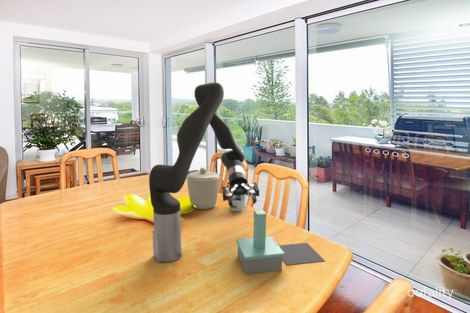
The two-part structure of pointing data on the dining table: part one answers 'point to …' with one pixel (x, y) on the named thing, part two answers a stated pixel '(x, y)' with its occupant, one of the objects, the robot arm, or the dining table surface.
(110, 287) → the dining table surface
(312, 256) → the mat
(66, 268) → the dining table surface
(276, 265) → the tub
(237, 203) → the light bulb box
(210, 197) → the canister
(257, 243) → the lid
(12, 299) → the dining table surface
